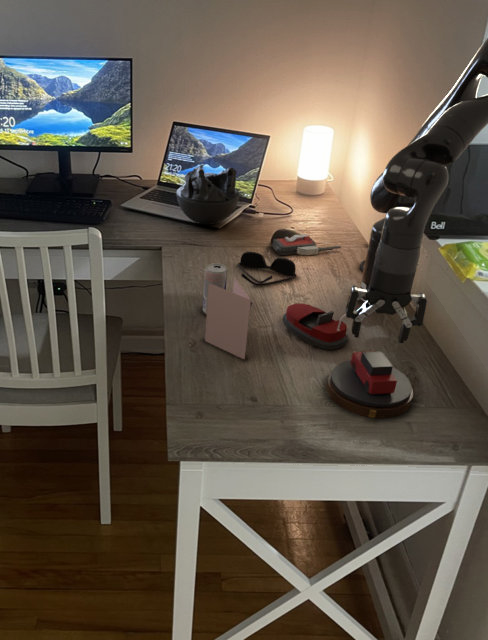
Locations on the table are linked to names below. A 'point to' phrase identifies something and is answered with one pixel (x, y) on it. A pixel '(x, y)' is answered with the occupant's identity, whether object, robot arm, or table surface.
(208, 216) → the bowl of black rocks
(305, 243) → the walkie-talkie
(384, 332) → the table surface
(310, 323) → the bumper car
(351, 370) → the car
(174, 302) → the table surface
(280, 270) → the sunglasses
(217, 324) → the greeting card
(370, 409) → the stand
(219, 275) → the energy drink
